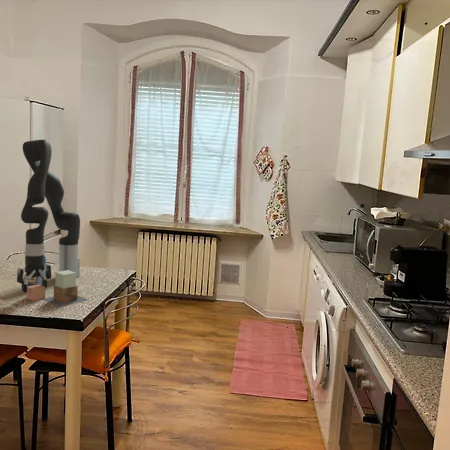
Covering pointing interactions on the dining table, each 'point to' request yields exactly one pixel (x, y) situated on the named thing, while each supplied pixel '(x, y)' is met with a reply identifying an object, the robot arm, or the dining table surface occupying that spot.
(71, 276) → the sage block
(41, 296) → the terracotta cube
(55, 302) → the slate mat
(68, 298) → the walnut block
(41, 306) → the dining table surface
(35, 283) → the beverage bottle
